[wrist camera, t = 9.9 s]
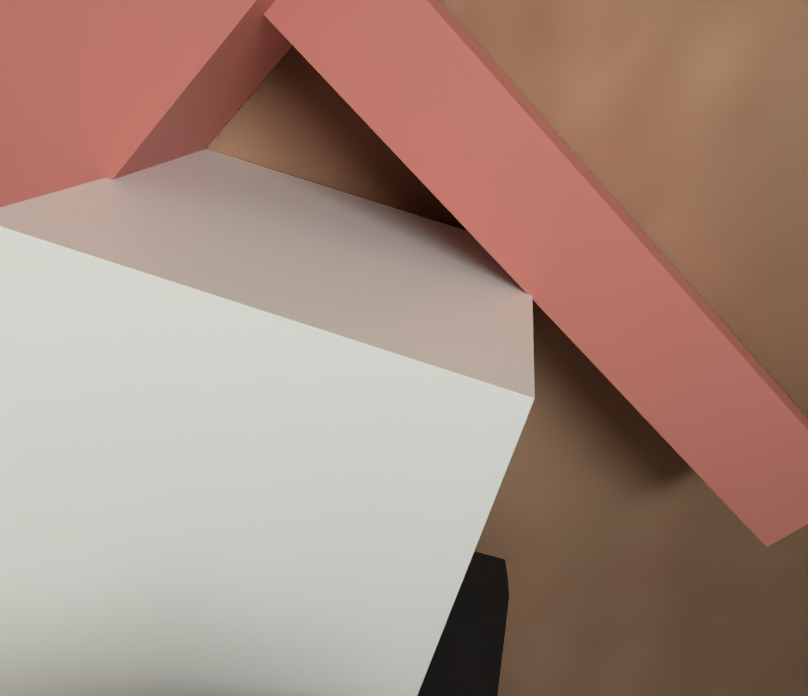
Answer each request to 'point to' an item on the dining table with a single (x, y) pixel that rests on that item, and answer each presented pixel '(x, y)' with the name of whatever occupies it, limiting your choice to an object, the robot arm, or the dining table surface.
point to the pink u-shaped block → (434, 166)
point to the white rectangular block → (243, 433)
